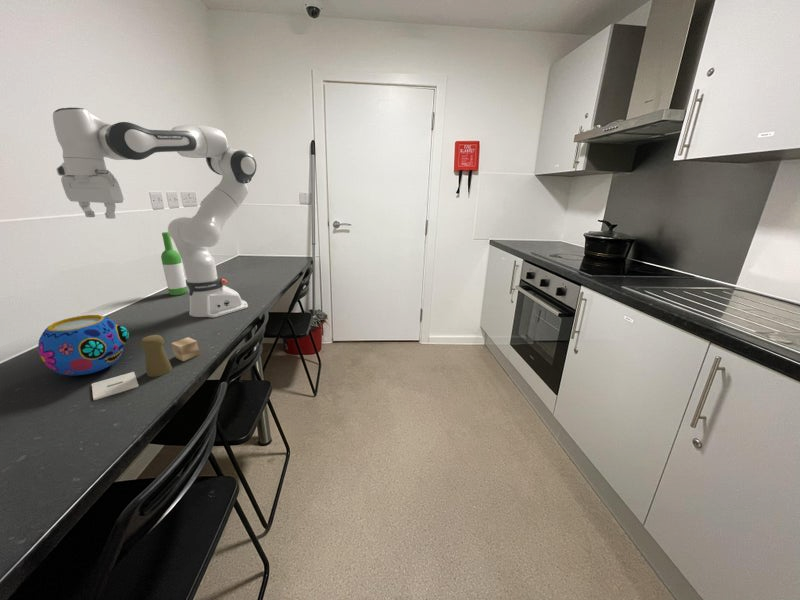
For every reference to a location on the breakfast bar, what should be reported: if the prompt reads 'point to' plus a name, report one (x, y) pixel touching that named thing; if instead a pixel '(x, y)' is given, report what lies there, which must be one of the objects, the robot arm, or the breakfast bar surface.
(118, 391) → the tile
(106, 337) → the ceramic pot
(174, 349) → the oak cube
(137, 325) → the breakfast bar surface
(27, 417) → the breakfast bar surface
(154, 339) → the cork
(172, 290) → the wine bottle
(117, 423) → the breakfast bar surface
